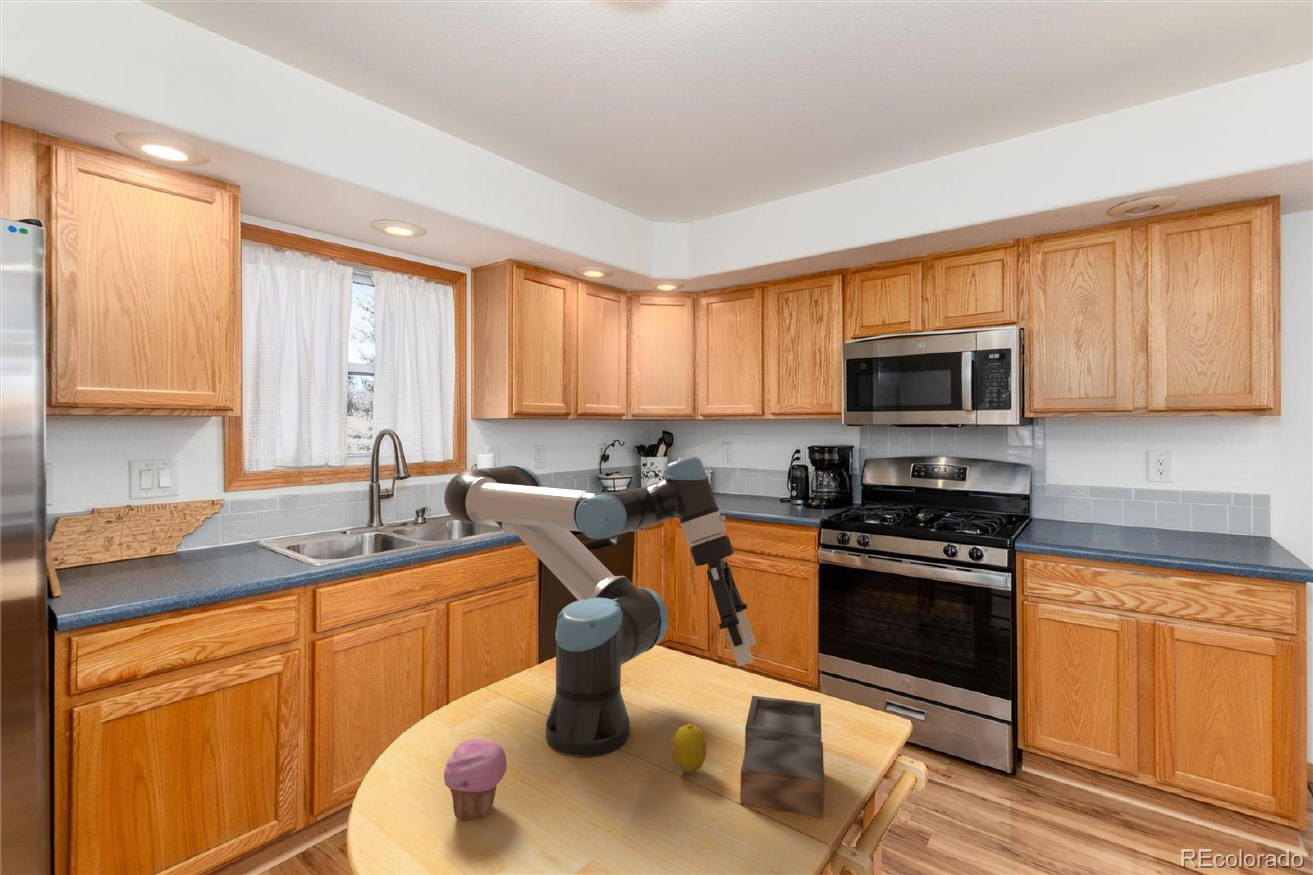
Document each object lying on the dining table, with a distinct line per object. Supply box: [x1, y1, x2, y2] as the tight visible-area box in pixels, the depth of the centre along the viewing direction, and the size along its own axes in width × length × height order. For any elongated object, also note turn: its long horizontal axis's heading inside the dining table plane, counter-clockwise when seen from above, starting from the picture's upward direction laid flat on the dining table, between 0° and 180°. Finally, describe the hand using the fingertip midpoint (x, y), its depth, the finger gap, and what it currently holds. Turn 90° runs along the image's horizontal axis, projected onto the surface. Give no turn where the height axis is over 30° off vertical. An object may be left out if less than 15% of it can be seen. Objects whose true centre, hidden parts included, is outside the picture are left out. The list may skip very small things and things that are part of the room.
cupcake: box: [443, 738, 508, 821], centre depth 90 cm, size 9×9×10 cm
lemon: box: [671, 723, 707, 774], centre depth 101 cm, size 6×6×8 cm
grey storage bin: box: [739, 695, 825, 819], centre depth 97 cm, size 12×12×12 cm
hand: (747, 654), depth 110 cm, fingers open, 13 cm apart
